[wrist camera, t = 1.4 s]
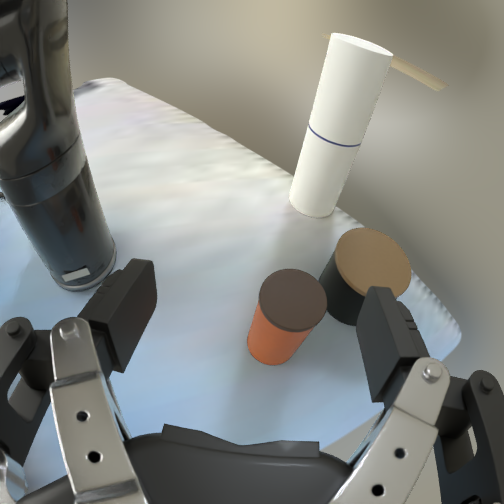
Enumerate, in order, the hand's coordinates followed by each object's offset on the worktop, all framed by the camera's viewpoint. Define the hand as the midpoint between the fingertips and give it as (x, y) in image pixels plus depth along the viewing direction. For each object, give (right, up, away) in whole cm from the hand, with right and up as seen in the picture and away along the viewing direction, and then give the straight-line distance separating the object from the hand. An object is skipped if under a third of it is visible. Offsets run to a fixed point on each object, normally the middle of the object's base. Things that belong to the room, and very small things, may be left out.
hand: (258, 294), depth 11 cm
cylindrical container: (+9, +9, +34) cm, 37 cm away
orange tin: (+2, -8, +20) cm, 22 cm away
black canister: (+12, -4, +25) cm, 28 cm away
